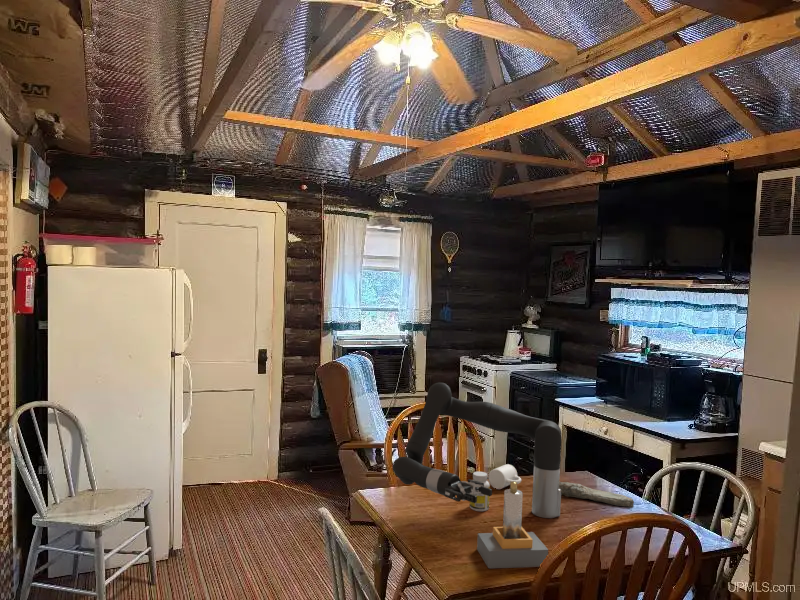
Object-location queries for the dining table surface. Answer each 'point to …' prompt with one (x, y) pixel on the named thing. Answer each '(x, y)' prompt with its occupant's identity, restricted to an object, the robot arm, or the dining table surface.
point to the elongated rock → (594, 494)
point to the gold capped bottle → (512, 512)
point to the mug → (503, 476)
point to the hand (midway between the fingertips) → (484, 496)
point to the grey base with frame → (511, 549)
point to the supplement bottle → (482, 499)
